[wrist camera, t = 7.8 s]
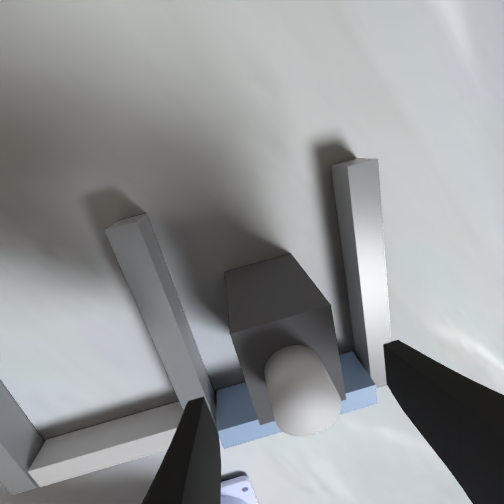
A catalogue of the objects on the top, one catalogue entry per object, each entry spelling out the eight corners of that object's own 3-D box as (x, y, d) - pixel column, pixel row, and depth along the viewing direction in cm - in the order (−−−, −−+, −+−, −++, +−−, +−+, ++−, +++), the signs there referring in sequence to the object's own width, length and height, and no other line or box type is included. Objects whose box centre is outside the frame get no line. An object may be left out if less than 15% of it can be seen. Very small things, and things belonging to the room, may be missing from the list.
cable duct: (377, 361, 20) (404, 395, 17) (32, 461, 19) (0, 515, 16) (357, 158, 15) (390, 159, 12) (-109, 279, 14) (-189, 310, 11)
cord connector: (305, 323, 18) (369, 442, 11) (245, 340, 18) (268, 473, 11) (290, 253, 16) (355, 337, 9) (224, 271, 16) (233, 372, 9)
